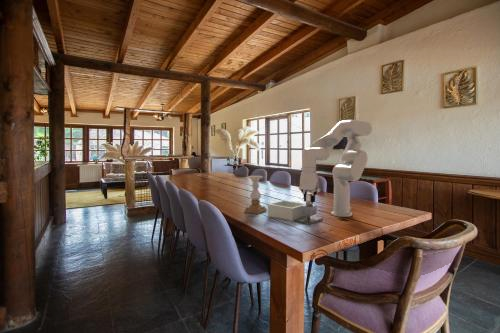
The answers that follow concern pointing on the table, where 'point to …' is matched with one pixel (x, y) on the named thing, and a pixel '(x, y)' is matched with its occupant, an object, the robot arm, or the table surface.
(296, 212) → the bin
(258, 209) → the candle holder
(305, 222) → the stud base
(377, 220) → the table surface
